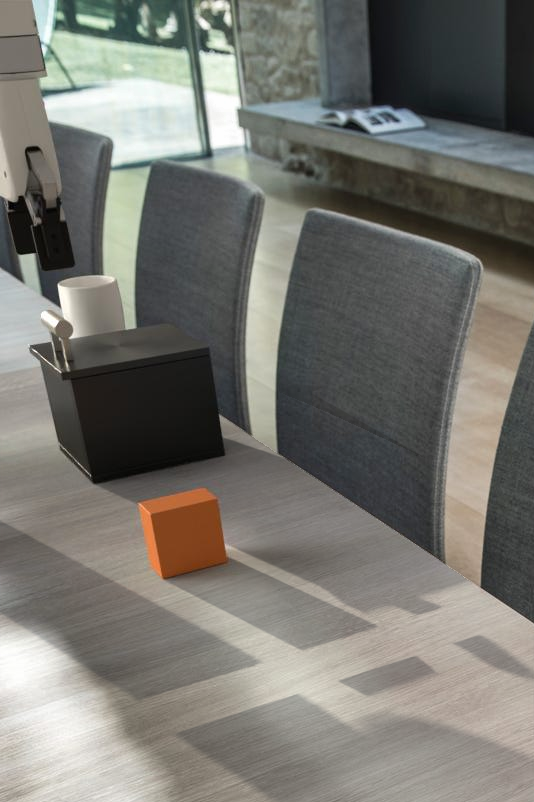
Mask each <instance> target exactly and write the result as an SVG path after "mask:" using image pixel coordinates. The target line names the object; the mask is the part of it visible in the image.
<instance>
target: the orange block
mask: <svg viewBox="0 0 534 802" xmlns="http://www.w3.org/2000/svg"><path fill="white" fill-rule="evenodd" d="M137 505H138V509H139V514H140V518H141V524H142V525H141V526H142V530H143V534H144V541H145V546H146V550H147V555H148V560H149V565H150V567H151V568H152V569H153V571H155V573H157V575H158V576H159V577H160V578H161V579H168V578H171V577H175V576H179V575H183V574H187V573H191V572H194V571H198V570H202V569H206V568H209V567H213V566H217V565H221V564H225V563H228V558H227V551H226V544H225V538H224V532H223V525H222V518H221V511H220V506H219V505H220V504H219V499H218V497H216V496H215V495H214V494H212V493H211V492H210V491H209V490H208V489H206V488H205V487H201V488H196V489H192V490H187V491H184V492H183V491H182V492H179V493H175V494H174V493H173V494H170V495H166V496H161V497H157V498H152V499H148V500H144V501H140V502H138V503H137Z"/></svg>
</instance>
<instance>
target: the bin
mask: <svg viewBox="0 0 534 802" xmlns="http://www.w3.org/2000/svg"><path fill="white" fill-rule="evenodd" d="M39 364H40V368H41V372H42V377H43V381H44V386H45V390H46V395H47V399H48V403H49V408H50V413H51V417H52V420H53V421H52V422H53V426H54V430H55V434H56V438H57V443H58V447H59V451H60V452H62V453H63V455H64V456H65V457H66V458H67V459H68V460H69V461H70V462H71V463H72V464H73V465H74V466H75V467H76V468H77V469H78V470H79V471H80V472H81V473H82V474H83V475H84V476H85V477H86V478H87V479H88V480H89V481H90V482H91V483H92V484H99V483H103V482H108V481H113V480H116V479H121V478H125V477H131V476H134V475H140V474H143V473H145V474H146V473H149V472H153V471H157V470H163V469H167V468H172V467H176V466H180V465H186V464H191V463H194V462H199V461H204V460H209V459H213V458H218V457H222V456H225V455H226V451H225V444H224V438H223V431H222V425H221V417H220V411H219V404H218V397H217V393H216V392H217V391H216V384H215V378H214V370H213V364H212V357H211V354H210V355H206V356H200V357H195V358H189V359H183V360H178V361H172V362H166V363H160V364H155V365H149V366H143V367H138V368H132V369H126V370H121V371H115V372H109V373H104V374H98V375H92V376H87V377H81V378H75V379H70V380H64V381H62V380H61V379H60V378H59V377H58V376H56V375H55V374H54V373H53V372H52V371H51V370H49V369H48V368H47V367H46V366H45V365H44V364H43V363H41V362H40V361H39Z"/></svg>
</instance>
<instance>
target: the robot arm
mask: <svg viewBox="0 0 534 802" xmlns="http://www.w3.org/2000/svg"><path fill="white" fill-rule="evenodd" d="M46 77H48V71H47V67H46V62H45V57H44V52H43V46H42V42H41V38H40V32H39V28H38V23H37V18H36V12H35V8H34V3H33V0H0V197H1V198H3V202H4V207H5V210H6V218H7V223H8V227H9V231H10V235H11V239H12V245H13V248H14V252H15V253H16V255H18V256H25V255H34V254H36V257H37V260H38V265H39V268H40V269H41V270H42V271H44V272H49V271H50V272H51V271H56V270H63V269H64V270H65V269H71V268H74V267H75V266H76V260H75V255H74V250H73V247H72V241H71V236H70V233H69V228H68V223H67V218H66V214H65V211H64V209H63V206H62V204H63V203H62V201H61V197H60V194H61V193H62V191H63V188H62V187H63V186H62V179H61V174H60V167H59V162H58V158H57V152H56V149H55V143H54V140H53V135H52V131H51V127H50V126H51V125H50V122H49V118H48V114H47V110H46V104H45V101H44V99H43V94H42V90H41V88H40V87H41V86H40V84H39V80H38V79H41V78H46Z"/></svg>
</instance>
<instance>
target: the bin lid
mask: <svg viewBox="0 0 534 802" xmlns="http://www.w3.org/2000/svg"><path fill="white" fill-rule="evenodd" d="M40 322H41V324H42V326H44V327H45V328H46V329H47V330H48V333H49V338H50V341H48V342H41V343H35V344H28V350H29V353H30V355H32V357H34V358H35V359H37V361H39V363H40V362H41V363H43V364H44V365H45V366H46V367H47V368H48V369H49V370H51V371H52V372H53V373H54V374H55V375H56V376H58V377H59V378H60V379H61V380H62V381H64V380H70V379H75V378H81V377H87V376H92V375H98V374H104V373H109V372H115V371H121V370H126V369H132V368H138V367H143V366H149V365H155V364H160V363H166V362H172V361H178V360H183V359H189V358H195V357H200V356H206V355H210V356H211V350H210V346H208V345H207V344H205V343H203V342H201V341H199V340H198V339H196V338H194V337H192V336H191V335H189V334H188V333H186V332H185V331H182V330H181V329H179V328H177V327H176V326H174V325H172V324H171V323H169V322H167V323H160V324H154V325H148V326H139V327H135V328H129V329H126V330H122V331H115V332H109V333H103V334H97V335H90V336H84V337H78V338H72V339H70V338H69V337H71V336H72V334H73V327H72V325H71V323H69V322H68V321H67V320H65V319H64V317H63V316H61V315H59V314H58V313H57V312H56V311H54V310H52V309H47V310H43V312H42V313H41V315H40Z"/></svg>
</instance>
